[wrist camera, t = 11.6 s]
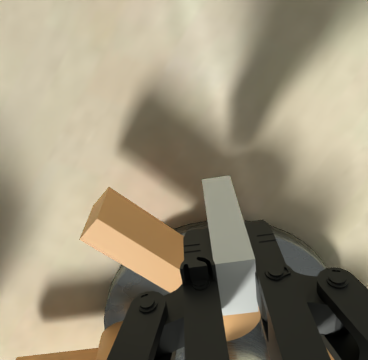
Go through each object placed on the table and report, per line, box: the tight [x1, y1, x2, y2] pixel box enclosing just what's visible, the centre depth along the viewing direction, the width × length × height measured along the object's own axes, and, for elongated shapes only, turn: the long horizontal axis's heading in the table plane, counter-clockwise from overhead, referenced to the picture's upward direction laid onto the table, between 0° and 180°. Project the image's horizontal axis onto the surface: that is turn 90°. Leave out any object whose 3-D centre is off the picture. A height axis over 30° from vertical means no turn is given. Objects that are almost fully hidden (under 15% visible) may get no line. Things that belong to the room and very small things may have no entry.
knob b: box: [79, 187, 261, 341], centre depth 20 cm, size 11×5×5 cm, turn 50°
